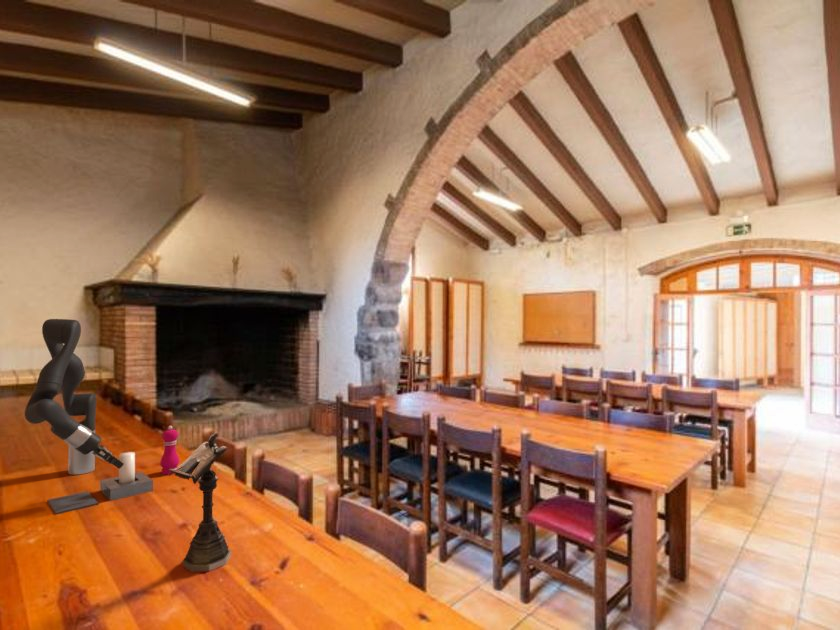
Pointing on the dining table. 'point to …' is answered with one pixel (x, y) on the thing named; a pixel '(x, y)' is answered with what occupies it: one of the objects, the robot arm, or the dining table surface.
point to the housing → (126, 486)
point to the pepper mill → (169, 451)
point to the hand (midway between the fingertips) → (118, 463)
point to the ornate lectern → (205, 510)
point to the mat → (72, 502)
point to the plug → (127, 468)
